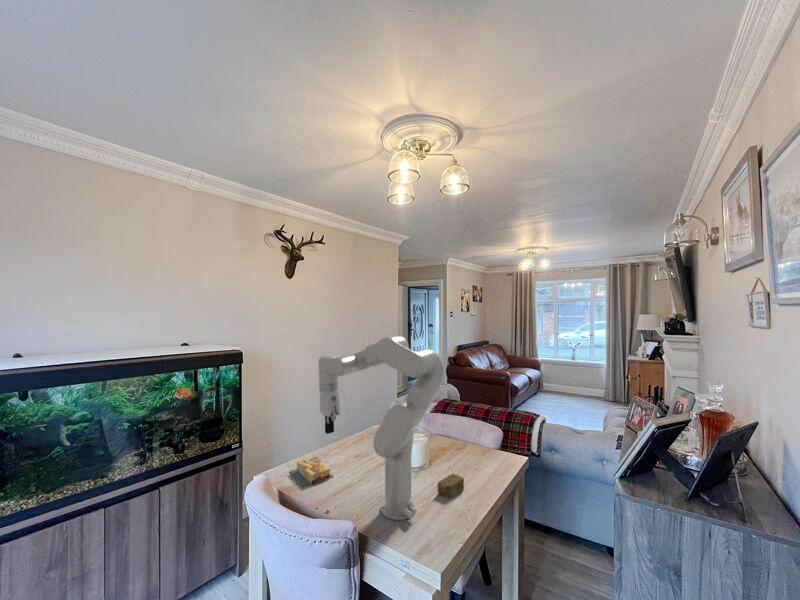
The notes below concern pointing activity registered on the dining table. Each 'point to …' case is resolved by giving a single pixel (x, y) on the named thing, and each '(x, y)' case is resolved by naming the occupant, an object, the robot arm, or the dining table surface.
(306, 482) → the mat
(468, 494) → the dining table surface
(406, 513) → the robot arm
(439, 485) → the stone block
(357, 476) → the dining table surface
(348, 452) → the dining table surface
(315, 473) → the candy box
